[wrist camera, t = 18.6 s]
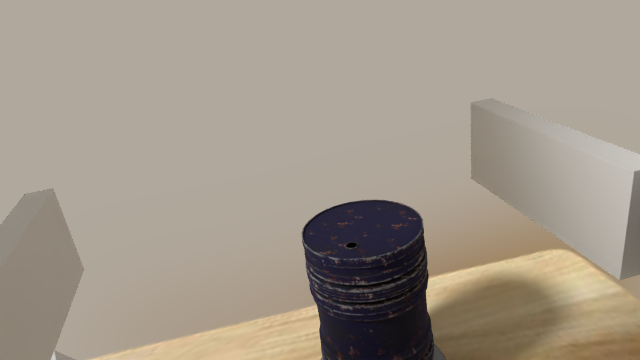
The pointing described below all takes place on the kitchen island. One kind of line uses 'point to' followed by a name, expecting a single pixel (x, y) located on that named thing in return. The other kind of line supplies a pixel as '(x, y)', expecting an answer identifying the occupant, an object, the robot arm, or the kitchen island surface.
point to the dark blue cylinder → (369, 281)
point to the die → (60, 356)
